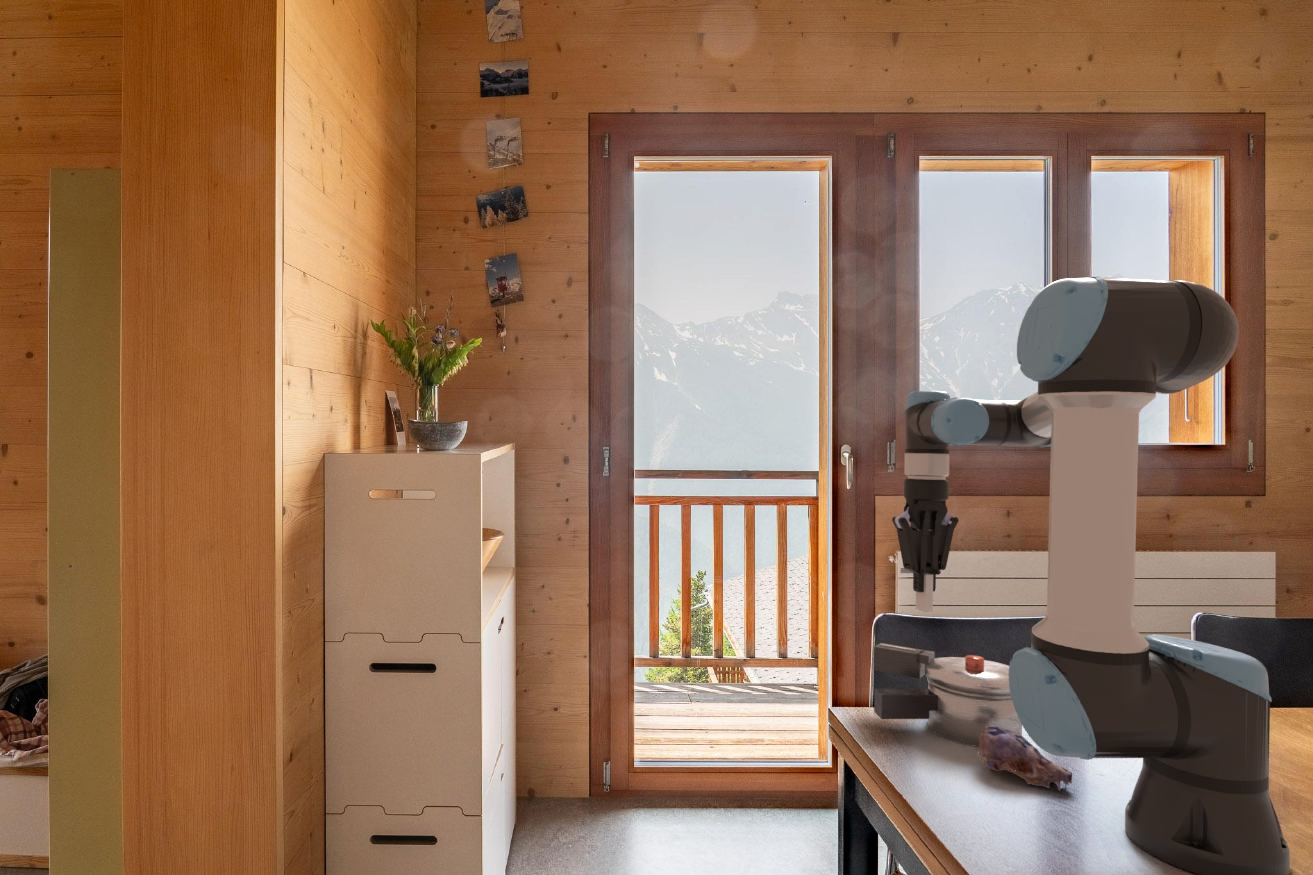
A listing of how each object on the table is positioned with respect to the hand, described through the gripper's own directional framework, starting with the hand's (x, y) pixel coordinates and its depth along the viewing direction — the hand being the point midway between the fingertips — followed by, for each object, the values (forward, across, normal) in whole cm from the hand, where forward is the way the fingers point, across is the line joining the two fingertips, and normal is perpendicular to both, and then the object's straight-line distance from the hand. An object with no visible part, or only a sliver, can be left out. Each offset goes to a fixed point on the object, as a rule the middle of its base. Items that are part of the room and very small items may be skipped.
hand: (923, 609), depth 132 cm
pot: (+17, +4, +11) cm, 21 cm away
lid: (+10, +2, +9) cm, 13 cm away
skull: (+17, +7, +29) cm, 34 cm away
